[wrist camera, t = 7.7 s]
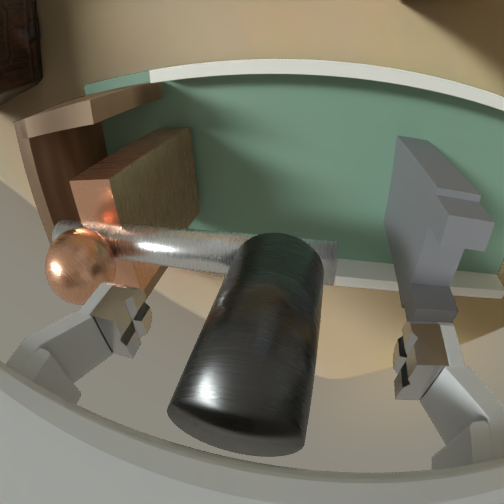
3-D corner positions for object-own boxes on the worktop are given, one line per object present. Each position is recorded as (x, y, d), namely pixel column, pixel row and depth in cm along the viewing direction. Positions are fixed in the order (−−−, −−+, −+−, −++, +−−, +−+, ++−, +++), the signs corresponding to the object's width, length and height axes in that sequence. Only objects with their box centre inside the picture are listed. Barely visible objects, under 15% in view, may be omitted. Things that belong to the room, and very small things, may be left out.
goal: (160, 80, 17) (89, 99, 11) (184, 243, 24) (142, 305, 18) (85, 95, 18) (13, 122, 13) (116, 236, 25) (69, 288, 20)
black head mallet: (337, 129, 16) (351, 380, 4) (330, 221, 20) (306, 475, 8) (134, 131, 19) (-60, 268, 7) (148, 208, 22) (10, 372, 10)
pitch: (536, 110, 12) (637, 169, 4) (489, 274, 20) (531, 376, 12) (92, 83, 19) (-20, 123, 10) (124, 238, 27) (56, 318, 18)
